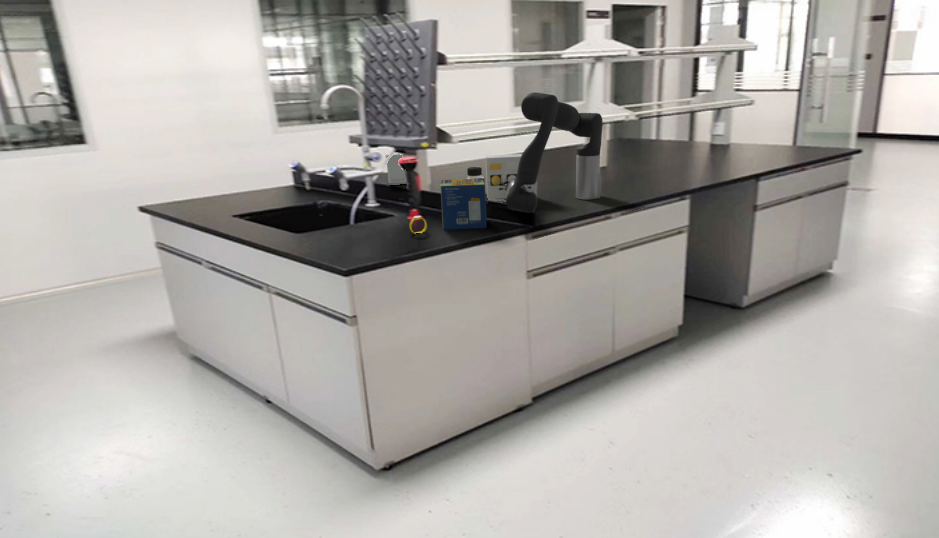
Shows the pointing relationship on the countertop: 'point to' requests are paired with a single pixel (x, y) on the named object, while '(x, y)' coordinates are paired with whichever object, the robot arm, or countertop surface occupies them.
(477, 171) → the medicine bottle
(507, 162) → the panel
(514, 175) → the white button
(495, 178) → the amber button
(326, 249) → the countertop surface
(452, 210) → the protein box
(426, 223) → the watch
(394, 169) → the grey shouldered block
